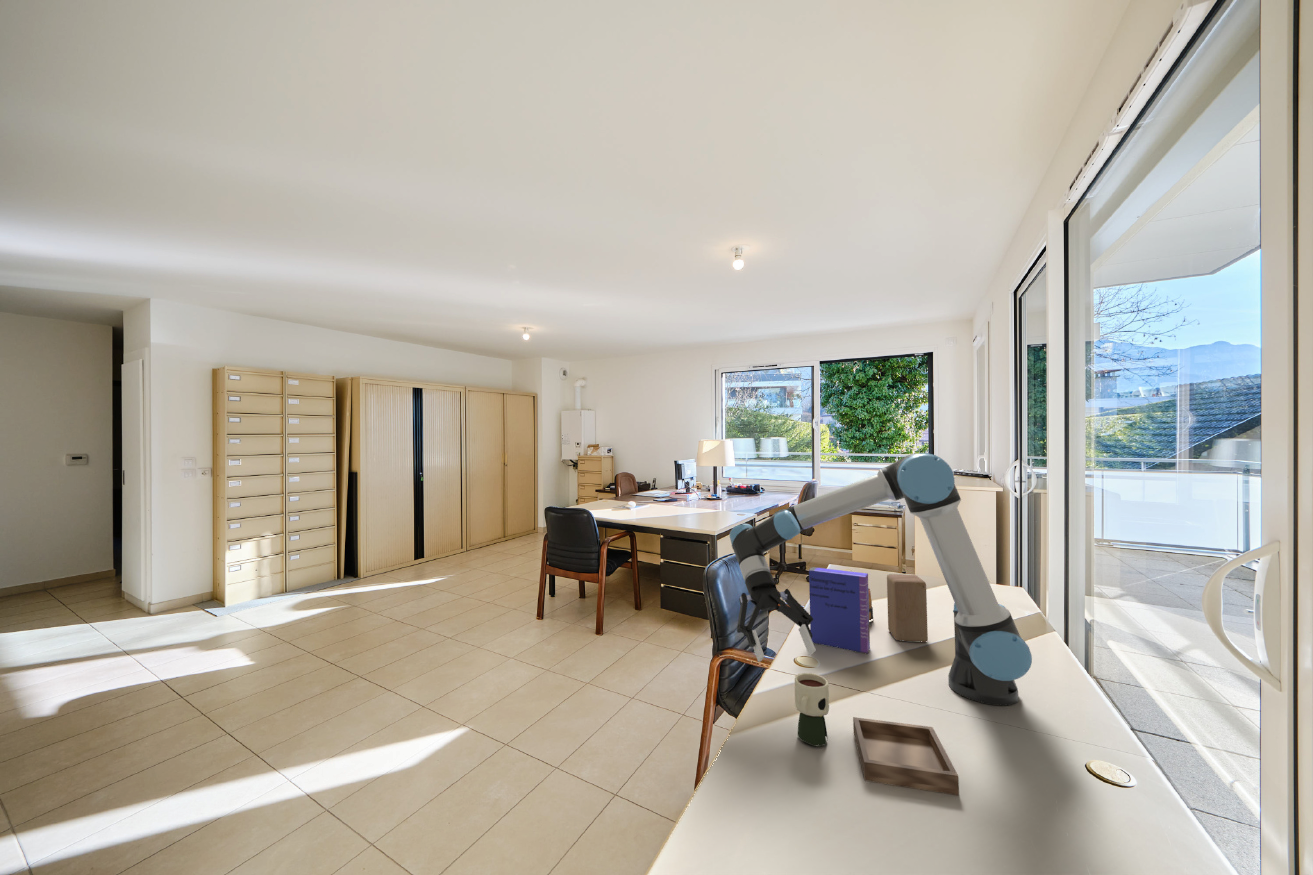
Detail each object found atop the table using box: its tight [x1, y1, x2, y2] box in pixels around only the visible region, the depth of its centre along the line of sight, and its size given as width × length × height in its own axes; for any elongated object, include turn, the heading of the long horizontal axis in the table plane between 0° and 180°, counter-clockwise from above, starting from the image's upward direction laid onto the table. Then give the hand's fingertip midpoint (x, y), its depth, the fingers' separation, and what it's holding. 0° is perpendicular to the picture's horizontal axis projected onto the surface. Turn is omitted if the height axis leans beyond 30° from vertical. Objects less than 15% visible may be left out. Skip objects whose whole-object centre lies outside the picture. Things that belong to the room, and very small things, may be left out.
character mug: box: [794, 672, 830, 747], centre depth 105 cm, size 11×7×13 cm, turn 144°
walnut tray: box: [852, 716, 960, 796], centre depth 97 cm, size 16×16×4 cm
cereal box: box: [808, 566, 871, 655], centre depth 155 cm, size 17×5×24 cm, turn 58°
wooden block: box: [886, 573, 929, 643], centre depth 161 cm, size 10×10×20 cm
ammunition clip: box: [868, 588, 874, 620], centre depth 174 cm, size 11×2×12 cm, turn 133°
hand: (787, 656), depth 114 cm, fingers open, 13 cm apart
